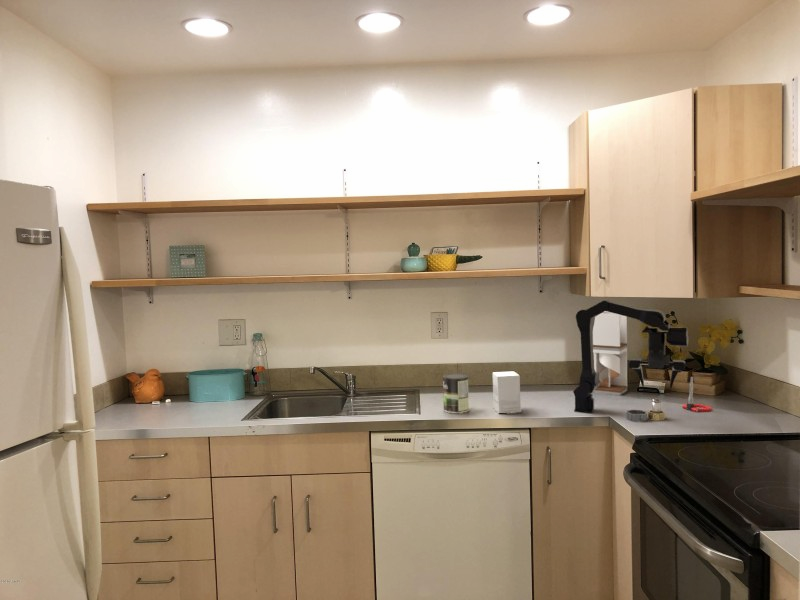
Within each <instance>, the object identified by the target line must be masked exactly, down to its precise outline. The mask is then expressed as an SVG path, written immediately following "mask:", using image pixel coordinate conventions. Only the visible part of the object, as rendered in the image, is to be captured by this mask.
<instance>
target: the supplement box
mask: <svg viewBox="0 0 800 600" xmlns="http://www.w3.org/2000/svg"><path fill="white" fill-rule="evenodd" d="M520 379H521V377H520V375H519V374H518V373H517V372H515V371H514V370H513V371H511V370H510V371H495V372H494V371H493V372H492V394H493V395H492V396H493V397H492V398H493V399H492V400H493V409H494V411H496V413H507V414H512V413H511V412H521V413H522V410H521V380H520Z"/></svg>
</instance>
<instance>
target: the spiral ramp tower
mask: <svg viewBox="0 0 800 600" xmlns="http://www.w3.org/2000/svg"><path fill="white" fill-rule="evenodd" d="M627 320H628V317H627V316H623V315H619V314H615V313H611V312H607V311H604V312H603V313H601V314H599V315H597V316H596V317H595V322H594V327H593V330H592V340H593V360H594V369H595V372H599V380H600V383H599V384H598V387H597V388H596V389H595V390H593V393H594V392H595V393H596V394H602V393H603V394H604V395H614V396H621V395H623V394H625V393H626V392H627V391H628V321H627Z"/></svg>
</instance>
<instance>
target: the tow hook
mask: <svg viewBox="0 0 800 600" xmlns="http://www.w3.org/2000/svg"><path fill="white" fill-rule="evenodd" d="M688 394H689V395H688V402H687V403H686V404H682V409H685V410H688V411H690V410H691V411H692V412H695V413H699V412H711V411H712V407H711V406H708V405H704V404H695V403H694V396H693V395H694V376H690V381H689V391H688ZM702 407H703V408H702Z"/></svg>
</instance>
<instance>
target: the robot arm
mask: <svg viewBox="0 0 800 600" xmlns="http://www.w3.org/2000/svg"><path fill="white" fill-rule="evenodd" d="M604 311H607V312H611V313H615V314H619V315H623V316H627V318H631V319H635V320H637V321H639V322H641V323H643V324H645V325H646V326H645V328H644V329H642V330H641V333H645V334H647V357H646V358H647V360H642V358H632V357H631V358H630V359H629V361H628V368H629V369H632V371H635V372H636V373H637V376H638V378H639V381H640V383H641V386H642V388H644V387H645V382H644V373H643V367H648V369H659V370H661V369H664V368H665V367H666V368H672V369H671V375H670V381H669V382H670V383H669V388H670V389H672V388H673V385H674V382H675V380H676V379H675V378H676V377H677V375H678V374H679V373H682V371H686V361H685V359H673V360H672V361H670V355H669V354H666V343H668V344H669V346H670V347H671V346H673V347H688V346H689V335H688V334H689V331H688V327H687V326H681V327H677V326H672V325H671V324H670V323H669V321H668V320H667V316H666V314H665V312H664V311H662V310H661V309H651V308H650V309H649V308H638V307H634V306H630V305H627V304H626V305H625V304H622V303H618V302H616V301H615V302H614V301H611V300H608V299H603V300H601V301H599V302H598V303H597V304H594V305H593V306H591V307H589V308H583V309H581V310H578V311H577V312H576V313H575V321H576V325H577V327H578V330H579V332H580V348H581V372H580V376H579V383H578V387H576V388H575V389H574V390H573V391H572V393H573V394H574V409H573V410H574V411H573V412H577V411H578V412H579V413H580V412H581V413H589V414H590V413H593V411H594V410H595V398H594V397H593V395H594V394H593V393H594V392H593V390H595V389H596V388H597V387H598V384H599V383H600V380H599V372H595V369H594V353H593V327H594V322H595V317H596V316H597V315H599V314H601V313H603V312H604Z"/></svg>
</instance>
